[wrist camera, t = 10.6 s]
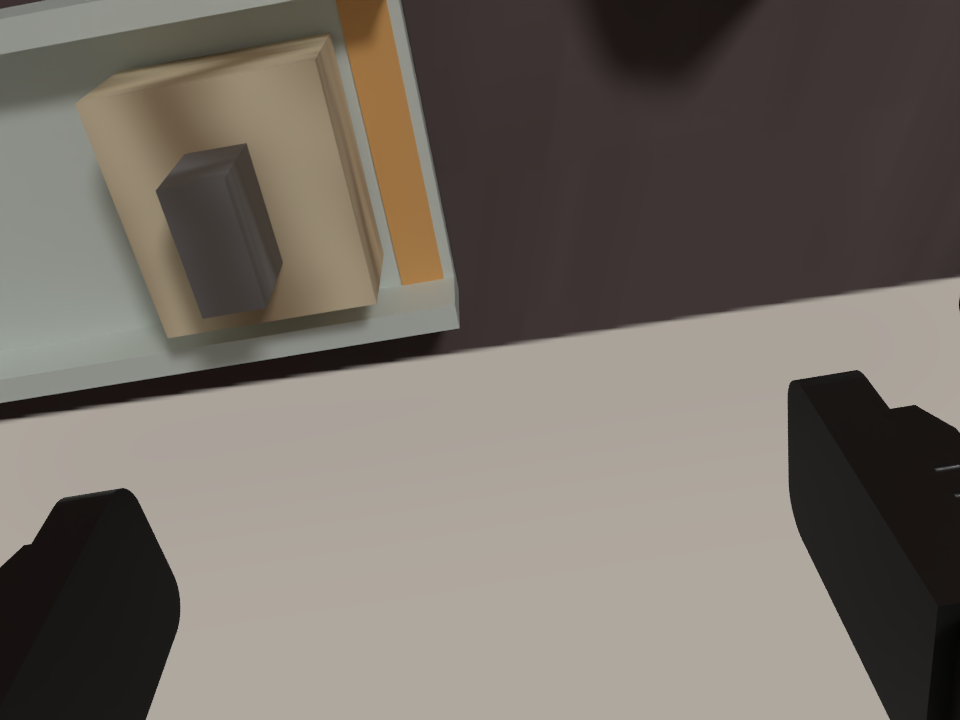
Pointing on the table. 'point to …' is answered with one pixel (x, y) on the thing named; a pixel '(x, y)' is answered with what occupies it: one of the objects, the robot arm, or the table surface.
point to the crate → (239, 184)
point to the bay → (98, 228)
